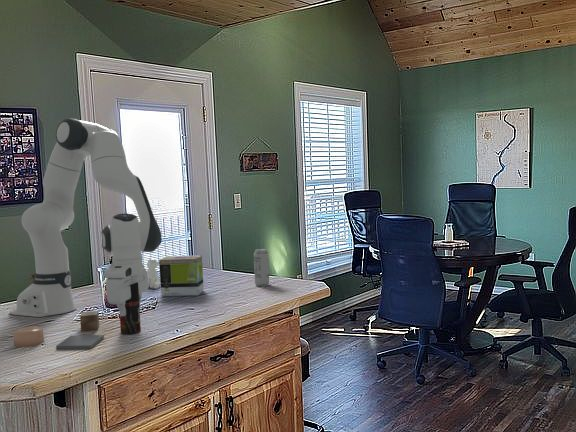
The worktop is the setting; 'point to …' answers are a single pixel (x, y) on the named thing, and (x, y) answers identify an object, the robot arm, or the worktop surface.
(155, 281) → the seated beast figurine
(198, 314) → the worktop surface
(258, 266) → the energy drink can
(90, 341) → the slate coaster
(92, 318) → the walnut block
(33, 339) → the soap bar
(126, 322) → the deodorant
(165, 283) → the tea box
